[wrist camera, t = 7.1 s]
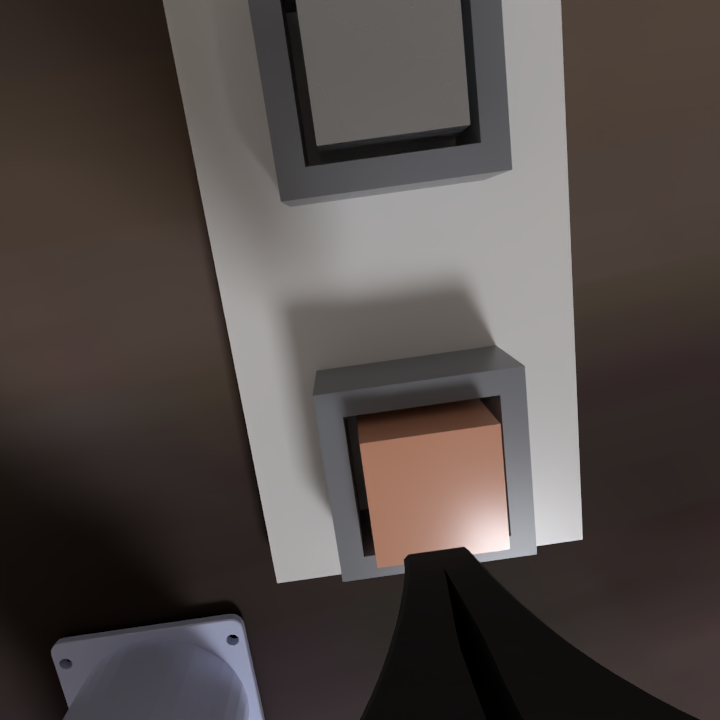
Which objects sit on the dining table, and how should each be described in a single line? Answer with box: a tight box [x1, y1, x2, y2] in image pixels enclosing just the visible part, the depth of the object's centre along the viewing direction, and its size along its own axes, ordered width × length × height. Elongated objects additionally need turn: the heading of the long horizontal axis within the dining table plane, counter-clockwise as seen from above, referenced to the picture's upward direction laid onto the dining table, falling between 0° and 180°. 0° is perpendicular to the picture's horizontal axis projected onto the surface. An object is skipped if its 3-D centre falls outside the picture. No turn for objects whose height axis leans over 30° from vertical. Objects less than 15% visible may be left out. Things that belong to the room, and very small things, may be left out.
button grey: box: [296, 0, 470, 163], centre depth 15 cm, size 4×4×4 cm
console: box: [163, 0, 583, 583], centre depth 17 cm, size 22×12×4 cm, turn 8°
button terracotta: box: [357, 398, 510, 568], centre depth 17 cm, size 4×4×4 cm
